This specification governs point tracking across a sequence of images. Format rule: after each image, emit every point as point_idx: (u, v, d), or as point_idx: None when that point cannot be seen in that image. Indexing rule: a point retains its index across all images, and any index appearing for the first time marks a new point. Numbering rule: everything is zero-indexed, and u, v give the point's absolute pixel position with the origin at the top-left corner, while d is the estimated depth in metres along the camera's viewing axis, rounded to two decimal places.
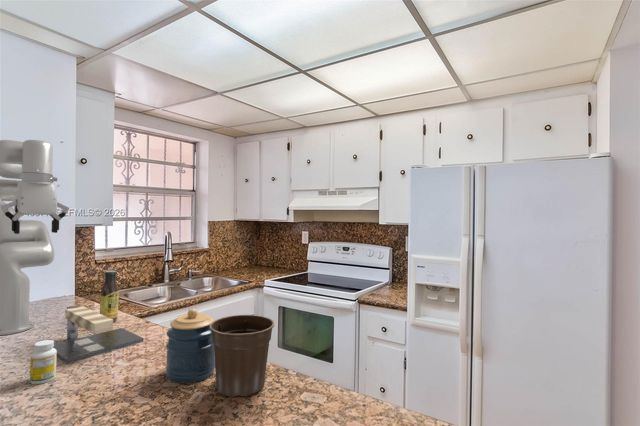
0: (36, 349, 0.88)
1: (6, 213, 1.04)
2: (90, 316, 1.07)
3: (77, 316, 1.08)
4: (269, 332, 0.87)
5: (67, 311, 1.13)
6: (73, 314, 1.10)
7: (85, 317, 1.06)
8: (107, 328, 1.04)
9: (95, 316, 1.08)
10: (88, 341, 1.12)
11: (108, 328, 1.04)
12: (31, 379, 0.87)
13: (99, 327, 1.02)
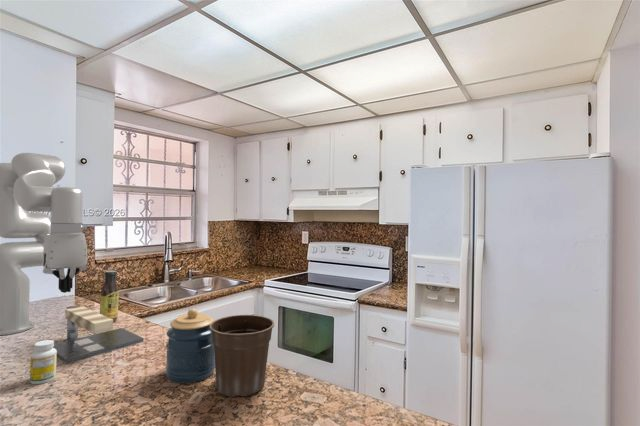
0: (36, 349, 0.88)
1: (54, 272, 0.98)
2: (90, 316, 1.07)
3: (77, 316, 1.08)
4: (269, 332, 0.87)
5: (67, 311, 1.13)
6: (73, 314, 1.10)
7: (85, 317, 1.06)
8: (107, 328, 1.04)
9: (95, 316, 1.08)
10: (88, 341, 1.12)
11: (108, 328, 1.04)
12: (31, 379, 0.87)
13: (99, 327, 1.02)
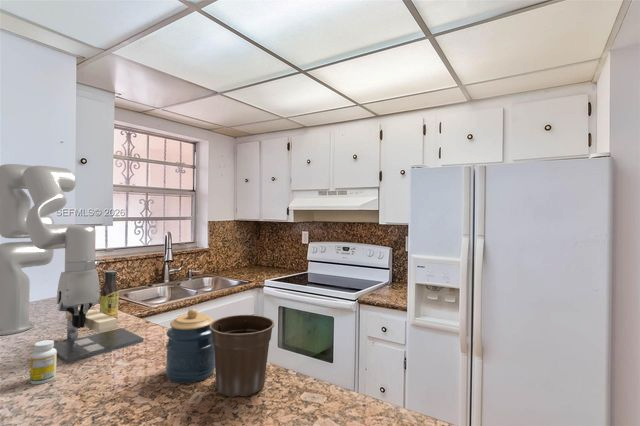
0: (36, 349, 0.88)
1: (68, 309, 1.02)
2: (93, 315, 1.08)
3: None
4: (269, 332, 0.87)
5: None
6: None
7: (88, 316, 1.07)
8: (111, 327, 1.05)
9: (98, 315, 1.08)
10: (88, 341, 1.12)
11: (112, 327, 1.05)
12: (31, 379, 0.87)
13: (103, 326, 1.03)
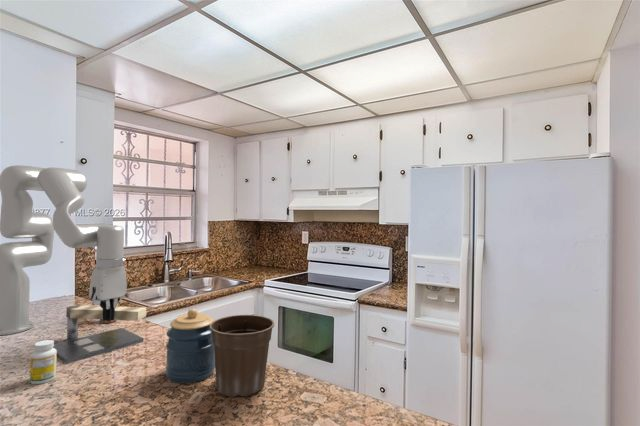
0: (36, 349, 0.88)
1: (101, 303, 1.09)
2: (117, 309, 1.16)
3: (100, 311, 1.14)
4: (269, 332, 0.87)
5: (75, 310, 1.14)
6: (90, 311, 1.14)
7: None
8: (143, 315, 1.17)
9: (122, 308, 1.17)
10: (88, 341, 1.12)
11: (144, 315, 1.17)
12: (31, 379, 0.87)
13: (140, 314, 1.15)
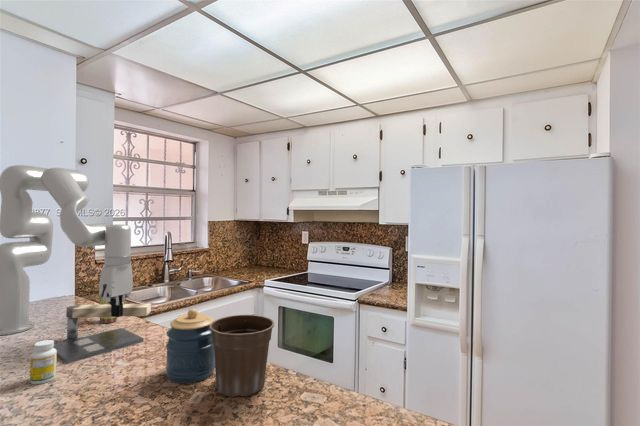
0: (36, 349, 0.88)
1: (111, 300, 1.12)
2: None
3: (105, 309, 1.17)
4: (269, 332, 0.87)
5: (78, 310, 1.15)
6: (95, 309, 1.16)
7: None
8: (149, 310, 1.22)
9: (127, 305, 1.21)
10: (88, 341, 1.12)
11: (149, 310, 1.23)
12: (31, 379, 0.87)
13: (147, 310, 1.20)
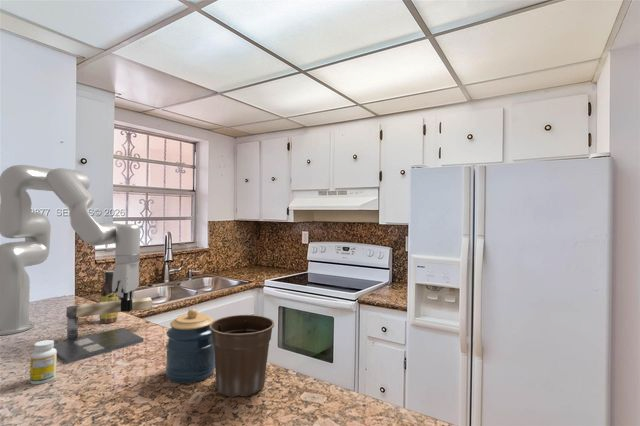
0: (36, 349, 0.88)
1: (124, 295, 1.19)
2: None
3: (111, 305, 1.21)
4: (269, 332, 0.87)
5: (82, 309, 1.16)
6: (100, 307, 1.19)
7: None
8: None
9: None
10: (88, 341, 1.12)
11: None
12: (31, 379, 0.87)
13: (151, 303, 1.29)
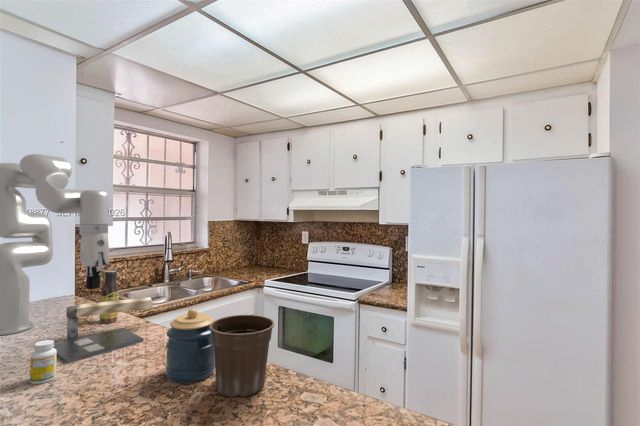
0: (36, 349, 0.88)
1: None
2: (125, 301, 1.26)
3: (111, 305, 1.21)
4: (269, 332, 0.87)
5: (82, 309, 1.17)
6: (100, 306, 1.19)
7: (126, 302, 1.24)
8: None
9: (128, 300, 1.27)
10: (88, 341, 1.12)
11: None
12: (31, 379, 0.87)
13: None
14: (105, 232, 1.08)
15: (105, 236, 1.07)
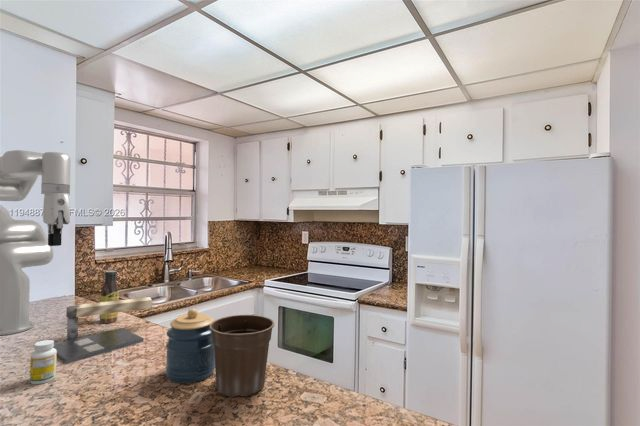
0: (36, 349, 0.88)
1: None
2: (125, 301, 1.26)
3: (111, 305, 1.21)
4: (269, 332, 0.87)
5: (82, 309, 1.17)
6: (100, 306, 1.19)
7: (126, 302, 1.24)
8: None
9: (128, 300, 1.27)
10: (88, 341, 1.12)
11: None
12: (31, 379, 0.87)
13: None
14: (66, 192, 1.14)
15: (66, 196, 1.13)
